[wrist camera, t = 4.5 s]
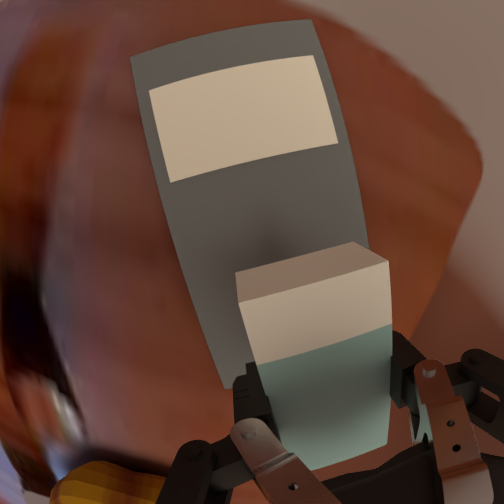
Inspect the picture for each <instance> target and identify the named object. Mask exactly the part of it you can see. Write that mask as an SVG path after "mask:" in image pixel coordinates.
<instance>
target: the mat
mask: <svg viewBox="0 0 504 504" xmlns="http://www.w3.org/2000/svg"><path fill="white" fill-rule="evenodd" d="M130 61H131V67H132V72H133V78H134V83H135V89H136V94H137V99H138V104H139V109H140V114H141V118H142V123H143V127H144V132H145V136H146V141H147V145H148V149H149V154H150V158H151V162H152V166H153V170H154V174H155V178H156V182H157V185H158V189H159V193H160V197H161V200H162V204H163V208H164V211H165V215H166V218H167V222H168V225H169V229H170V232H171V236H172V239H173V243H174V246H175V249H176V252H177V256H178V259H179V262H180V265H181V268H182V272H183V275H184V278H185V281H186V284H187V287H188V290H189V293H190V296H191V299H192V302H193V305H194V308H195V311H196V314H197V316H198V319H199V322H200V325H201V328H202V331H203V333H204V336H205V339H206V342H207V344H208V347H209V350H210V352H211V355H212V358H213V360H214V363H215V365H216V368H217V371H218V373H219V376H220V378H221V381H222V383H223V386H224V388H225V389H230V388H233V385H232V384H233V382H234V380H235V379H236V377H237V376H241V375H245V374H246V365H245V363H249V362H253V361H255V359H254V355H253V352H252V349H251V345H250V342H249V339H248V335H247V332H246V328H245V325H244V321H243V318H242V315H241V311H240V308H239V304H238V296H237V286H236V276H235V273H236V272H239V271H243V270H247V269H251V268H255V267H259V266H263V265H267V264H271V263H274V262H278V261H282V260H286V259H290V258H294V257H297V256H301V255H305V254H309V253H312V252H316V251H320V250H324V249H327V248H331V247H335V246H339V245H342V244H346V243H350V242H355V243H357V244H359V245H361V246H362V247H364V248H366V249H368V250H369V244H368V237H367V230H366V224H365V218H364V212H363V206H362V200H361V195H360V190H359V184H358V179H357V175H356V170H355V165H354V160H353V156H352V152H351V147H350V143H349V139H348V135H347V131H346V127H345V123H344V119H343V115H342V112H341V108H340V105H339V101H338V98H337V94H336V91H335V87H334V84H333V81H332V78H331V74H330V71H329V68H328V65H327V62H326V59H325V56H324V53H323V50H322V48H321V45H320V42H319V39H318V36H317V34H316V31H315V28H314V26H313V23H312V21H311V19H308V20H294V21H283V22H273V23H265V24H258V25H251V26H245V27H239V28H234V29H228V30H223V31H219V32H214V33H209V34H205V35H201V36H197V37H193V38H189V39H185V40H182V41H178V42H175V43H171V44H168V45H165V46H162V47H158V48H155V49H152V50H149V51H146V52H144V53H141V54H138V55H135V56H133V57H130Z"/></svg>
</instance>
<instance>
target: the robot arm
mask: <svg viewBox="0 0 504 504" xmlns="http://www.w3.org/2000/svg"><path fill="white" fill-rule="evenodd" d="M245 365H246V374H245V375H241V376H237V377H236V379H235V380H234V382H233V384H232V385H233V404H234V422H235V424H234V426H233V427H232V429H231V431H230V434H229V435H228V436H227V437H225V438H224V439H222V440H220V441H217V442H215V443H212V444H209V443H208V442H206V441H203V440H193V441H189V442H187V443H185V444H184V445H182V446H181V447H180V449H179V450H178V452H177V454H176V457H175V459H174V461H173V464H172V466H171V468H170V471H169V473H168V475H167V478H166V480H165V482H164V484H163V487H162V489H161V491H160V494H159V496H158V498H157V501H156V503H155V504H230V500H231V496H232V492H233V488H234V487H236V486H238V485H240V484H243V483H245V482H247V481H249V480H251V479H253V480H254V482H255V483H256V485H257V486H258V488H259V489H260V491H261V492H262V494H263V495H264V497H265V498H266V500H267V501H268V502H269V504H504V457H500V456H494V455H489V454H485V453H480V452H479V448H478V445H477V441H476V437H475V434H474V431H473V427H472V424H471V422H472V423H473V424H475V425H476V426H478V427H479V428H481V429H483V430H484V431H485V432H487V433H489V434H490V435H491V436H493V437H494V438H496V439H497V440H499V441H500V442H502V443H503V444H504V360H502V359H499V358H498V357H496V356H494V355H492V354H490V353H488V352H486V351H483V350H481V349H470V350H468V351H466V352H464V353H463V355H462V357H461V362H457V363H453V364H449V365H443V363H442V362H440V361H438V360H434V359H426V358H425V357H424V356H423V355H422V354H421V353H420V352H419V351H418V350H417V349H416V348H415V347H414V346H413V345H411V343H410V342H409V341H408V340H407V339H406V338H405V337H404V336H403V335H402V334H401V333H398V332H396V331H393V330H392V356H391V370H390V396H391V398H392V399H393V401H394V402H395V403H396V405H397V406H398V408H399V409H400V408H402V407H404V406H406V405H407V406H408V407H409V420H410V427H411V434H412V442H413V446H412V447H410V448H408V449H406V450H404V451H402V452H400V453H398V454H397V455H395V456H394V457H393V458H391V459H390V460H389V461H387V462H386V463H384V464H383V465H382V466H380V467H379V468H376V469H373V470H367V471H361V472H355V473H347V474H344V475H341V476H338V477H335V478H331V479H328V480H325V481H320V480H319V479H318V478H317V477H316V476H315V475H314V474H313V473H312V472H311V471H310V470H309V469H308V467H307V466H306V465H305V464H304V463H303V462H302V461H301V460H300V459H299V457H298V456H297V455H296V454H294V453H293V452H292V453H289V452H288V451H287V450H286V448H285V447H284V446H283V445H282V443H281V438H280V434H279V430H278V427H277V423H276V420H275V417H274V414H273V411H272V407H271V404H270V401H269V398H268V396H266V395H265V391H264V388H263V385H262V382H261V378H260V375H259V372H258V369H257V365H256V362H255V361H253V362H249V363H245ZM482 388H485V389H487V390H489V391H490V392H492V393H494V394H496V395H497V396H498V397H499V399H500V402H499V401H497V400H495V399H493V398H492V397H490V396H488V395H487V394H485V393H483V392H482Z"/></svg>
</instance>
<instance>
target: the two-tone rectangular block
mask: <svg viewBox="0 0 504 504" xmlns="http://www.w3.org/2000/svg"><path fill="white" fill-rule="evenodd" d="M235 276H236V286H237V296H238V304H239V308H240V311H241V315H242V318H243V321H244V325H245V328H246V332H247V335H248V339H249V342H250V345H251V349H252V352H253V355H254V359H255V362H256V365H257V369H258V372H259V375H260V378H261V382H262V385H263V388H264V391H265V395H266V396H268V398H269V401H270V404H271V407H272V411H273V414H274V417H275V420H276V423H277V427H278V430H279V434H280V438H281V443H282V445H283V446H284V447H285V448H286V450H287V451H288V452H289V453H292V452H293V453H294V454H296V455H297V456H298V457H299V459H300V460H301V461H302V462H303V463H304V464H305V465H306V466H307V467H308V469H309V470H310V471H311V470H314V469H318V468H321V467H325V466H328V465H331V464H334V463H337V462H340V461H344V460H346V459H349V458H352V457H355V456H357V455H360V454H363V453H366V452H368V451H371V450H373V449H376V448H378V447H381V446H383V445H386V444H387V436H388V426H389V414H390V402H391V396H390V370H391V356H392V307H391V288H390V274H389V262H388V260H386V259H384V258H382V257H381V256H379V255H377V254H375V253H373V252H372V251H370V250H368V249H366V248H364V247H362V246H361V245H359V244H357V243H355V242H350V243H346V244H342V245H339V246H335V247H331V248H327V249H324V250H320V251H316V252H312V253H309V254H305V255H301V256H297V257H294V258H290V259H286V260H282V261H278V262H274V263H271V264H267V265H263V266H259V267H255V268H251V269H247V270H243V271H239V272H236V273H235Z"/></svg>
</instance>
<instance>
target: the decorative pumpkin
mask: <svg viewBox="0 0 504 504" xmlns="http://www.w3.org/2000/svg"><path fill="white" fill-rule="evenodd" d="M165 480H166V477H163V476H158V475H154V474H148V473H141V472H134V471H131V470H128V469H126V468H123V467H121V466H119V465H116V464H113V463H110V462H107V461H91V462H89V463H86V464H84V465H81V466H80V467H78V468H76V469H74V470H72V471H71V472H70V473H69V474H67V475H66V476H65V477H64V478H62V479H61V480H59V481H58V482H57V484H56V485H55V486H54V488H53V489H52V490H51V496H50V502H49V504H155V503H156V501H157V498H158V496H159V494H160V491H161V489H162V487H163V484H164V482H165Z"/></svg>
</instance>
